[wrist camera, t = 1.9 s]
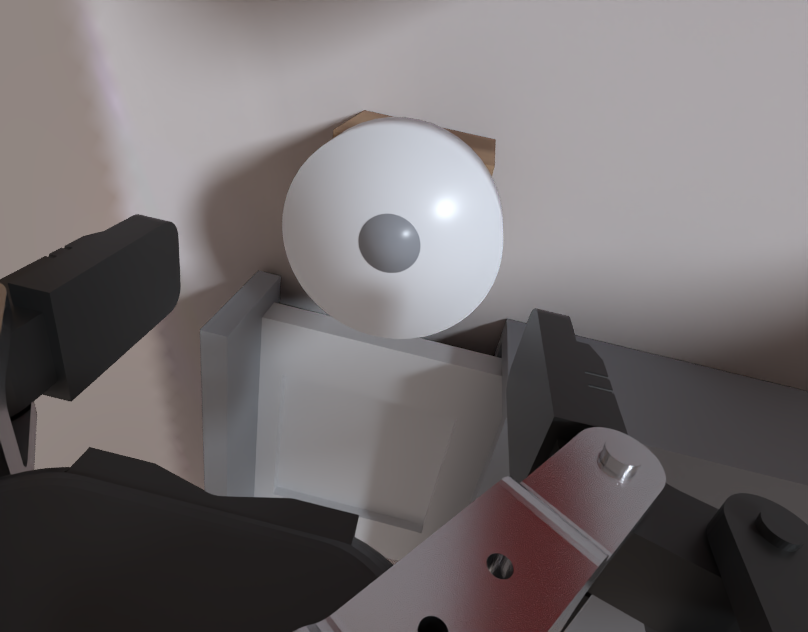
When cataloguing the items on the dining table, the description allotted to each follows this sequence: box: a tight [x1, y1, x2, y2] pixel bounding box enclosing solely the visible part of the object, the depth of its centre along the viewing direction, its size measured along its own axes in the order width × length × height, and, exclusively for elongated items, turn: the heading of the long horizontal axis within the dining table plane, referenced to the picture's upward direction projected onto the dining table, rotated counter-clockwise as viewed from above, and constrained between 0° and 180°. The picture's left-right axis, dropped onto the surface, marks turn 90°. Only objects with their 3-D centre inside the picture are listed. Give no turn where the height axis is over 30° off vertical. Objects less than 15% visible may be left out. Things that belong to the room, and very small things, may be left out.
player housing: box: [470, 319, 808, 632], centre depth 23 cm, size 16×16×6 cm
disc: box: [282, 117, 503, 339], centre depth 15 cm, size 6×6×2 cm
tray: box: [200, 271, 502, 561], centre depth 23 cm, size 16×15×5 cm
